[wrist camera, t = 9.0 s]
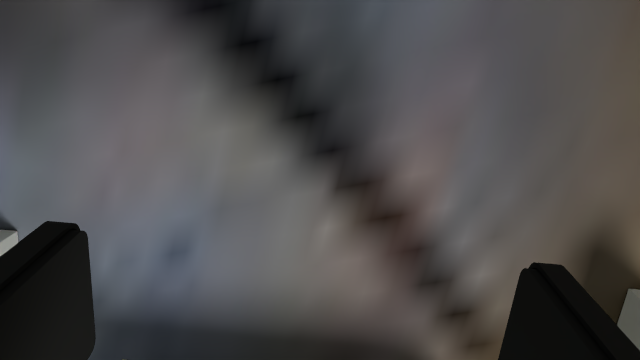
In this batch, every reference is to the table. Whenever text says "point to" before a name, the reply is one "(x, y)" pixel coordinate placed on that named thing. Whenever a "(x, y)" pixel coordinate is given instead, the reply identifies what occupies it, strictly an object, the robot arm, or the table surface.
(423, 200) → the table surface
